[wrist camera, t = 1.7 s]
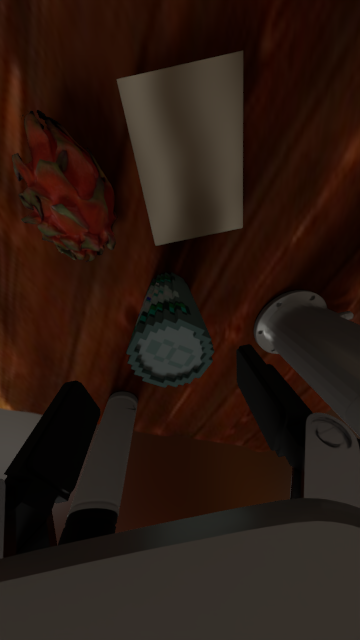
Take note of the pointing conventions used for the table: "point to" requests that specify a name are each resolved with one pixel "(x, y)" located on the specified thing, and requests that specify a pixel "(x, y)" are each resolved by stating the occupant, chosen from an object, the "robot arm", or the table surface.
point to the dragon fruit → (65, 191)
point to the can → (169, 335)
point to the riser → (189, 145)
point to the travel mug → (103, 473)
